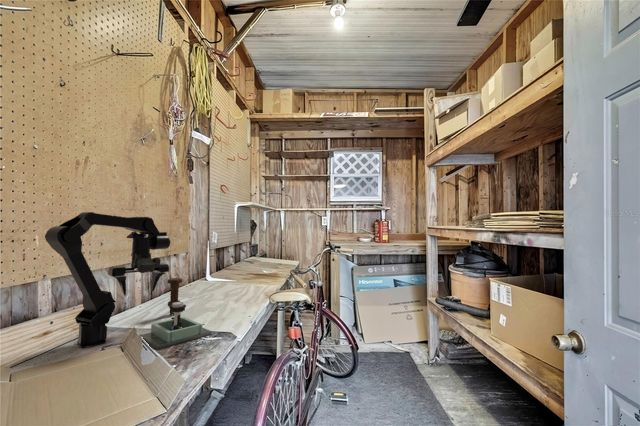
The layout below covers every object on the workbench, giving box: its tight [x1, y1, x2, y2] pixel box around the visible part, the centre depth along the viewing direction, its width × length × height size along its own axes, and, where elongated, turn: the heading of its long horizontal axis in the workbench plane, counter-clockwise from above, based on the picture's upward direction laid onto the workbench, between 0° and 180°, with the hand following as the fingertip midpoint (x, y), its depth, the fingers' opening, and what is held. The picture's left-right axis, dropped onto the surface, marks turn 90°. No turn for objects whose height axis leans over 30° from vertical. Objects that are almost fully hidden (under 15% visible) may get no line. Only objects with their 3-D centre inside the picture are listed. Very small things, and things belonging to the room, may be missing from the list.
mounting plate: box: [139, 326, 212, 350], centre depth 104 cm, size 18×14×1 cm
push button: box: [168, 301, 187, 331], centre depth 104 cm, size 7×5×10 cm
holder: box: [150, 316, 203, 343], centre depth 104 cm, size 11×13×3 cm
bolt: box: [167, 277, 183, 316], centre depth 130 cm, size 6×5×15 cm
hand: (139, 293), depth 111 cm, fingers open, 9 cm apart
